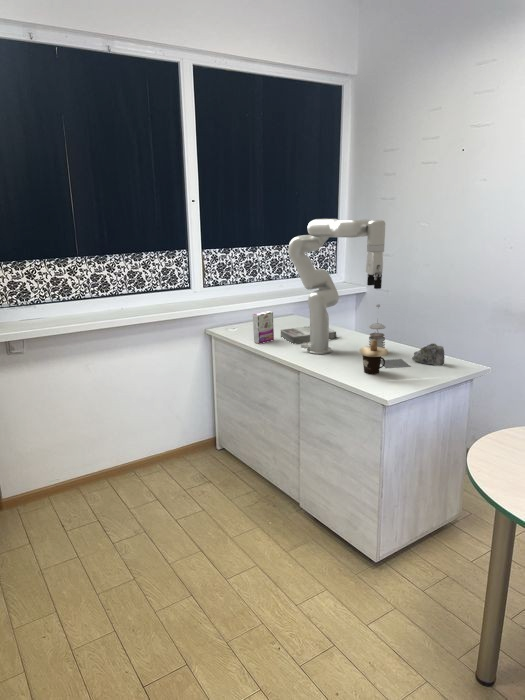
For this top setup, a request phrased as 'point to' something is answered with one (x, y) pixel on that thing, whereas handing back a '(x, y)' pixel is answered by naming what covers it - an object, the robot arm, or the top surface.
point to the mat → (394, 363)
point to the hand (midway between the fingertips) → (374, 286)
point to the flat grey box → (301, 334)
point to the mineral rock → (430, 355)
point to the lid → (373, 350)
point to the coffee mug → (372, 364)
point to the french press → (377, 334)
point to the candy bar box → (263, 327)
